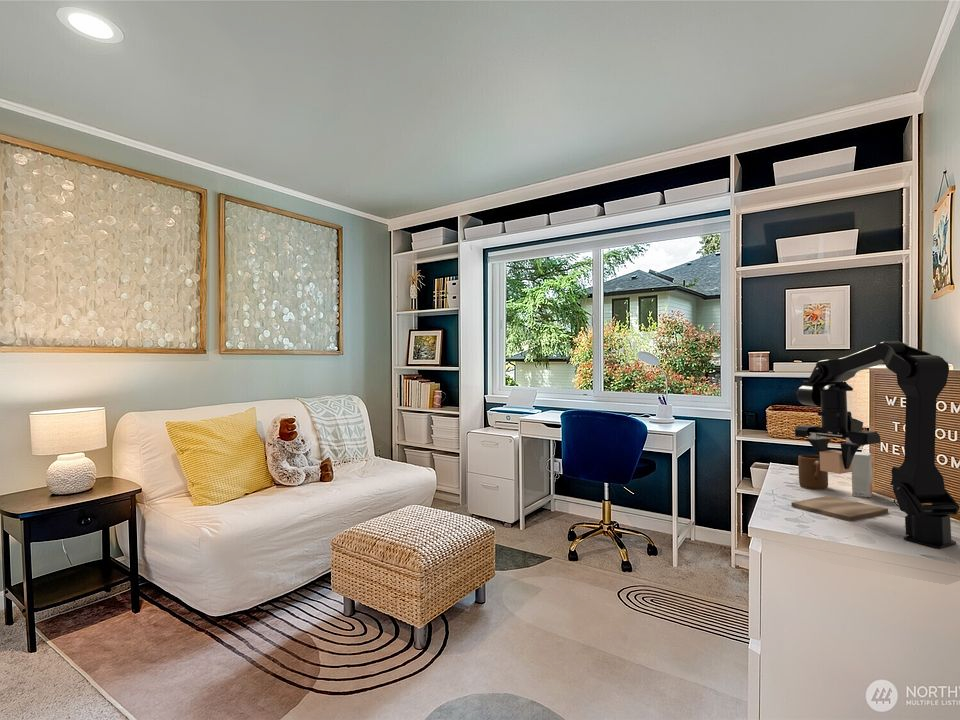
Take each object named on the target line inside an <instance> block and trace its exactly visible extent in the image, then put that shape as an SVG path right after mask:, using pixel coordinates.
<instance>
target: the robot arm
mask: <svg viewBox="0 0 960 720" xmlns="http://www.w3.org/2000/svg"><path fill="white" fill-rule="evenodd" d="M881 364H884V365H885V367H886V368H887V369H888V370H890V371H891V372H892V373H894V374H896V381H897V385H898V387H899V388H900V390H901V392H902V393H903V394H904V395H905V420H904V421H905V425H904V427H905V428H904V430H905V432H904V460H903V462H902V463H901V464H900V466H893V467H891V481H890V485H891V486H892V491H893V493H894V496H895V498H896V501H897V504H898V508H899V510H900V511H901V512H904V513H905V514H906V515H905V516H904V522H905V523H904V525H905V527H904V528H905V536H903V540H905V541H910V542H912V543H913V542H914V543H917V544H919V545H920V544H921V545H924V546H928V547H932V548H935V549H942V548H946V547H949V546H953V545H957V540H953V539H952V527H951V526H952V525H951V524H952V523H951V515H953V516H954V515H958V513H959V509H960V505H959V504H958V502H957V501H956V500H955V499H954V497H953V496H952V495H951V494H950V493H949V491H947V489H946V488H945V480H944V476H943V475H942V473H941V472H940V470H939V468H938V467H937V465H936V463H935V460H936V459H935V458H936V456H935V454H936V432H937V431H936V425H937V399H938V396H939V395H940V394H941V392H942V391H943V390H944V388H946V386H947V382H948V378H949V372H950V365H949V363H948V361H946V360H945V359H944V358H943V357H942V356H940V355H937V354H935V355H934V354H931V352H930V353H929V352H928V351H924V350H922V349H919V348H915V347H913V346H910V345H908V344H907V343H904V342H902V341H898V340H897V341H896V340H895V341H882V342H881V341H880V342H879V343H877V344H876V345H874V346H871V347H868V348H866V349H863V350H860V351H858V352H855V353H852V354H849V355H847V356H844V357H840V358H831V359H823V360H819V361H817V362H816V363H815V367H814V368H813V369H812V372H811V373H810V376H809V377H808V379H807V380H803V381H802V385H801V386H800V387H799V388H798V389H797V392H796V399H797V401H798V403H800V404H802V405H805V406H811V407H813V406H815V407H820V411H817V416H820V418H821V421H820V424H821V425H811V424H806V425H797V426H796V427H795V429H794V437H798V438H806V439H805V441H807V442H809V444H810V445H811V447H812V448H813V449H814V451H815V452H816V455H818V456H819V457H820V452H821V451H828V450H829V447H828V445H829V442H830V441H831V438H832V439H833V438H835V439H842V440H845V442H841V443H840V449H841V450H840V451H842V458H843V464H844V468H845V469H849V467H850V465H851V462H852V460H853V457H854V455H855V453H856V452H858V450H859V449H860V448H861V447H862V446H867V445H868V446H869V445H873V444H881V435H880V434H879V433H878V431H871V430H863V427H864V422H863V421H861V420H859V419H856V418H853V417H852V416H853V415H852V412H851V411H848V396H847V395H848V394H847V392H853V391H854V388H853V386H851V385H849V384H848V382H847V381H848V380H851V379H853V378H854V377H855V376H856V374H857V373H859V372H860V371H863V370H867V369H870V368H873V367H875V366H878V365H879V366H880V365H881ZM925 504H926V505H925Z"/></svg>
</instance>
